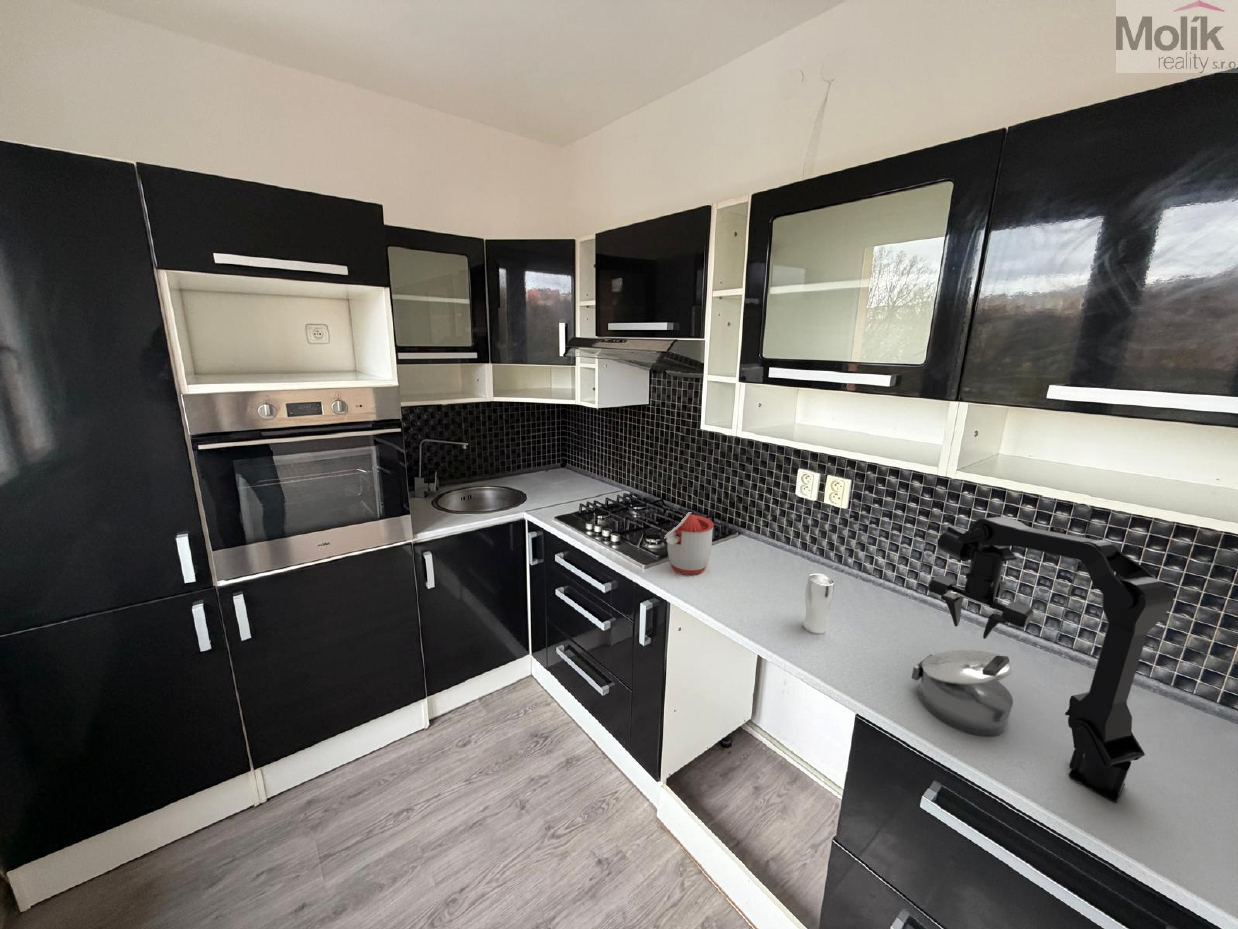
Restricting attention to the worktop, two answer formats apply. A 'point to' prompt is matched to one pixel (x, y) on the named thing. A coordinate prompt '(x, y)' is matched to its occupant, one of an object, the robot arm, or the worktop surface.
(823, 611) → the beer glass
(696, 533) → the citrus juicer
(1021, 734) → the worktop surface
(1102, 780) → the robot arm
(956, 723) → the pot
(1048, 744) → the worktop surface
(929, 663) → the lid
